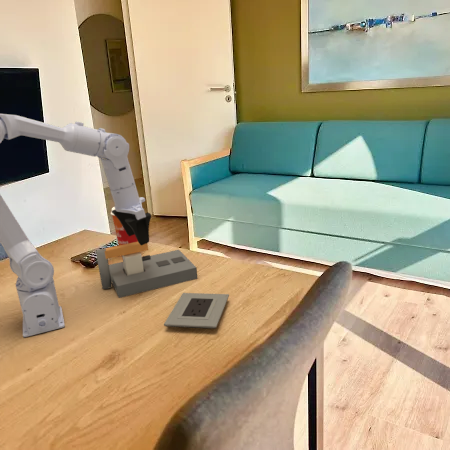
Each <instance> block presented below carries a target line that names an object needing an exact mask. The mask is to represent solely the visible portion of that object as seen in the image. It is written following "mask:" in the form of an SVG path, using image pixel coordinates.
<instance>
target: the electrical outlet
mask: <svg viewBox="0 0 450 450" xmlns="http://www.w3.org/2000/svg"><path fill="white" fill-rule="evenodd" d="M229 296H230V294H229V293H201V292H199V293H197V292H196V293H194V292H182V293H181V295H180V297H179V299H178V300H177V302H176V304H175V305H174V307H173V308H172V310H171V311H170V313H169V314H168V317H166V320H165V322H164V323H163V326H164V327H169V328H187V329H188V328H189V329H210V330H216V329H217V327H218V324H219V322H220V320H221V317H222V315H223V312H224V309H225V307H226V305H227V302H228V299H229Z"/></svg>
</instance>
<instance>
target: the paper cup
mask: <svg viewBox="0 0 450 450" xmlns="http://www.w3.org/2000/svg"><path fill="white" fill-rule="evenodd" d="M113 210H115V206H113V207H112V208H111V211H110V215H111V217H112V223H113V225H114V230H115V231H114V232H115V235H116V239H117V244H118V246H119V245H124V244H129V243H134V242H138V240H137V238H136V236H135V234H134V235H132V236H128V234H127V233H126V231H125V229H124V228H123V226H122V224H121V222H120V221H119V220H118V218H117V217H116V216H115V215H114V214H113V213H112V211H113Z"/></svg>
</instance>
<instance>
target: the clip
mask: <svg viewBox="0 0 450 450" xmlns="http://www.w3.org/2000/svg"><path fill="white" fill-rule="evenodd" d="M145 251H149V243H146V244H144V245H140V244H139V242H134V243H129V244H124V245H119V244H118V245H115V246H109V247H105V248H99V249H97V250H95V254H96V259H97V266H98V272H99V276H100V282H101V288H102V289H104V290H107V289H111V288H112V287H113V284H112V282H111V276H110V270H109V265H110V264H109V259H114V258H118V257H122V256H123V255H128V254H132V253H137V252H140V253H141V252H145Z"/></svg>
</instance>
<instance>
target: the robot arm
mask: <svg viewBox="0 0 450 450" xmlns="http://www.w3.org/2000/svg"><path fill="white" fill-rule="evenodd" d="M20 136H25V137H29V138H35V139H39V140H40V139H41V140H45V141H50V142H55V143H59V145H61V146H62V148H63V150H64V151H65V152H70V153H74V154H81V155H85V156H90V157H97V158H99V159H100V161H101V163H102V168H103V171H104V174H105V178H106V181H107V185H108V187H109V190H110V194H111V197H112V201H113V203H114V207H115V210H113V211H112V210H111V211H112V213H113V214H114V215H115V216H116V217H117V218H118V220H119V221H120V222H121V224H122V226H123V228H124V229H125V231H126V233H127V234H128V236H132V235H134V234H135V236H136V238H137V240H138V242H139V244H140V245H144V244H146V243H147V244H149V242H150V222H151V219H152V214H151V213H150V212H146V211H145V209H144V208H143V204H142V203H144V202H145V201H146V198H145V197H143V196H142V197H141V196H139V191H138V189H137V186H136V182H135V177H134V176H133V175H134V174H133V171H132V168H131V167H132V166H131V165H130V162H129V158H128V157H129V156H128V155H129V151H130V143H129V142H127V140H126V138H125V137H124V136H122V135H121V134H118V133H113V132H106V129H105V128H102V127H99V128H98V129H96V128H93V127H88V126H85V123H84V122H82V121H74V123H73V122H69V123H67V124H66V125H64V126H63V127H61V126H57V125H54V124H50V123H46V122H42V121H39V120H35V119H32V118H27V117H25V116H22V115H21V116H20V115H17V114H7V113H0V144H1V143H2V141H4V139H6V140H8V141H9V140H12V139H15V138H17V137H20ZM0 244H1V246H2V247H3V249H4V252H5V254H6V255H7V257H8V259H9V268H10V269H11V272H13V273H14V274H15V275H16V276H17V278H16V282H15V289H16V291H17V295H18V296H17V297H18V300H19V305H20V309H21V312H22V337H23V338H27V337H31V336H34V335H35V336H36V335H38V334H39V335H40V334H42V333H43V334H44V333H46V332H50V331H54V330H57V329H61V328H62V329H63V328H65V326H66V325H65V320H64V314H63V313H64V312H63V309H62V306H61V305H60V304H59V301H58V295H57V290H56V286H55V281H54V274H55V269H54V265H53V263H52V262H51V261H49V260H48V259H47V258H45V257H44V256H42V254H40V252H39V251H38V249H37V248H36V247H35V246H34V244H33V243H32V241H30V239H29V238H28V236H27V235H26V233H25V231H24V230H23V228H22V227H21V225H20V223H19V222H18V220H17V219H16V217H15V216H14V214H13V212H12V211H11V209H10V207H9V206H8V204H7V203H6V201H5V199H4V198H3V197H2V195H1V194H0Z"/></svg>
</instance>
